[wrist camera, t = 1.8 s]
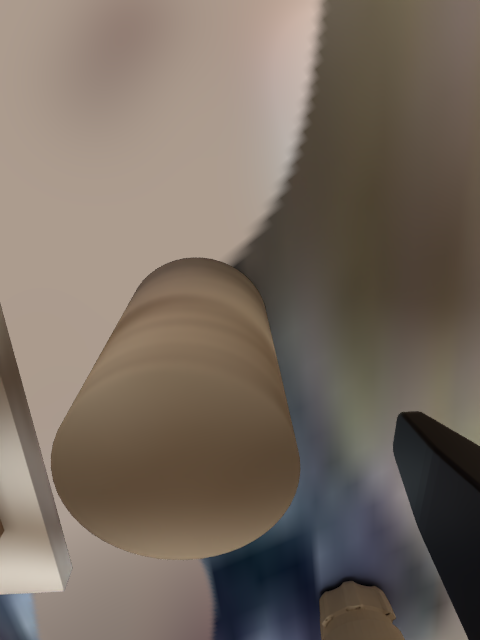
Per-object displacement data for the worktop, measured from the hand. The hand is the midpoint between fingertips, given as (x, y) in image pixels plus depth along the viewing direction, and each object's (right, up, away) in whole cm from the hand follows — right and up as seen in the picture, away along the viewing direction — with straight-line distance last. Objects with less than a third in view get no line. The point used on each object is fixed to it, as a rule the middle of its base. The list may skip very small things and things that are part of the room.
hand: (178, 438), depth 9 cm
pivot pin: (0, +2, +5) cm, 5 cm away
